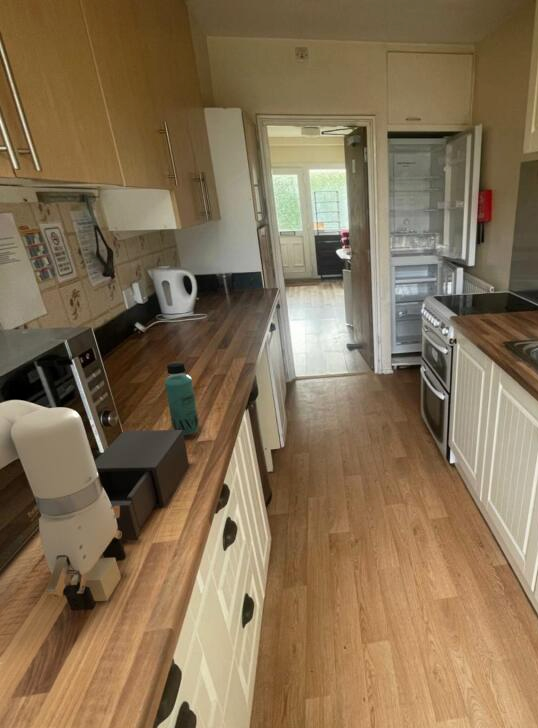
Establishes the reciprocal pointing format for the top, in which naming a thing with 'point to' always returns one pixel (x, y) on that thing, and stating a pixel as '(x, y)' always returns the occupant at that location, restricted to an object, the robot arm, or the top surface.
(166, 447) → the drawer cabinet
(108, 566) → the block
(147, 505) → the drawer
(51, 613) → the top surface
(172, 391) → the beverage bottle
